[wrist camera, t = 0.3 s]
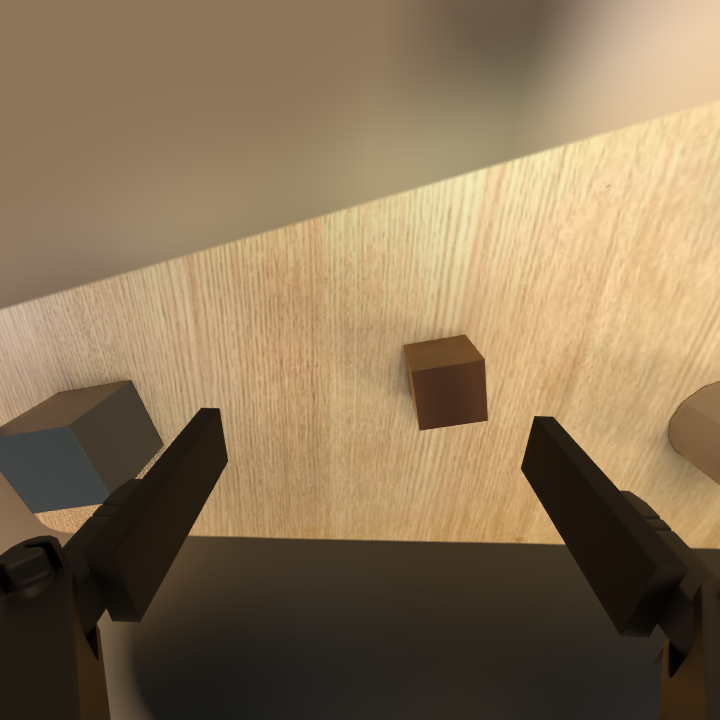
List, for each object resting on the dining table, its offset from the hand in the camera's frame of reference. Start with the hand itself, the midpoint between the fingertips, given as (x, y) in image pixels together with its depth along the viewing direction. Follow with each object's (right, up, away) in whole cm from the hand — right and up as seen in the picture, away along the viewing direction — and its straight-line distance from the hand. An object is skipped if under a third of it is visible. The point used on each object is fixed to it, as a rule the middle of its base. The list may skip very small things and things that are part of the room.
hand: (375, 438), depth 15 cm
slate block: (-23, -2, +17) cm, 29 cm away
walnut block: (+6, +3, +14) cm, 16 cm away
